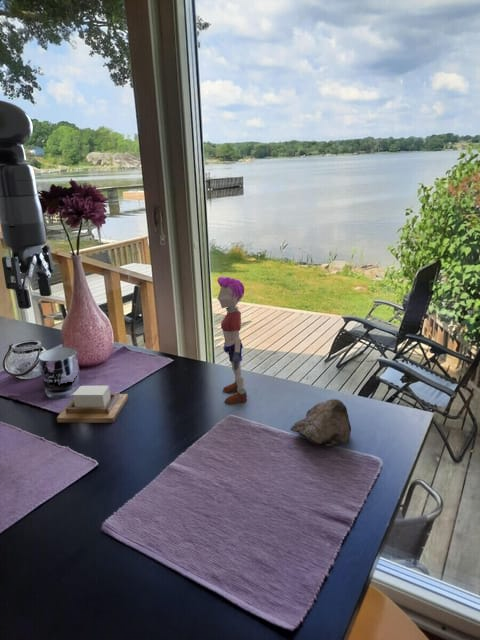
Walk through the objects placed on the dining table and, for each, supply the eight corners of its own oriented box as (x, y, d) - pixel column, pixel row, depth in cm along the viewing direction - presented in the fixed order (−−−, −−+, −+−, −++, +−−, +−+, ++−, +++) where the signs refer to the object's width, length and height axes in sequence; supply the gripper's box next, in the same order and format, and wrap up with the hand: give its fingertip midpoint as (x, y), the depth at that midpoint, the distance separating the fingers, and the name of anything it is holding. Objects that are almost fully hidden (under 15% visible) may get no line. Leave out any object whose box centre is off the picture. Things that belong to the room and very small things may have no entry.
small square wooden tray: (57, 422, 100) (55, 413, 99) (77, 397, 110) (75, 389, 109) (113, 422, 99) (112, 413, 98) (128, 398, 109) (127, 389, 108)
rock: (288, 436, 97) (275, 400, 93) (332, 412, 99) (321, 376, 95) (317, 472, 85) (304, 433, 81) (366, 444, 88) (356, 405, 84)
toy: (220, 381, 116) (214, 269, 106) (244, 379, 117) (240, 268, 106) (224, 413, 101) (218, 286, 91) (252, 410, 102) (248, 285, 92)
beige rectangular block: (75, 410, 102) (72, 394, 101) (82, 400, 106) (80, 385, 105) (104, 410, 102) (102, 394, 100) (111, 400, 106) (109, 385, 105)
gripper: (22, 216, 91) (35, 292, 96) (-21, 225, 77) (-2, 312, 83) (57, 216, 90) (69, 292, 96) (21, 224, 77) (36, 312, 82)
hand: (36, 301), depth 89 cm, fingers open, 8 cm apart
